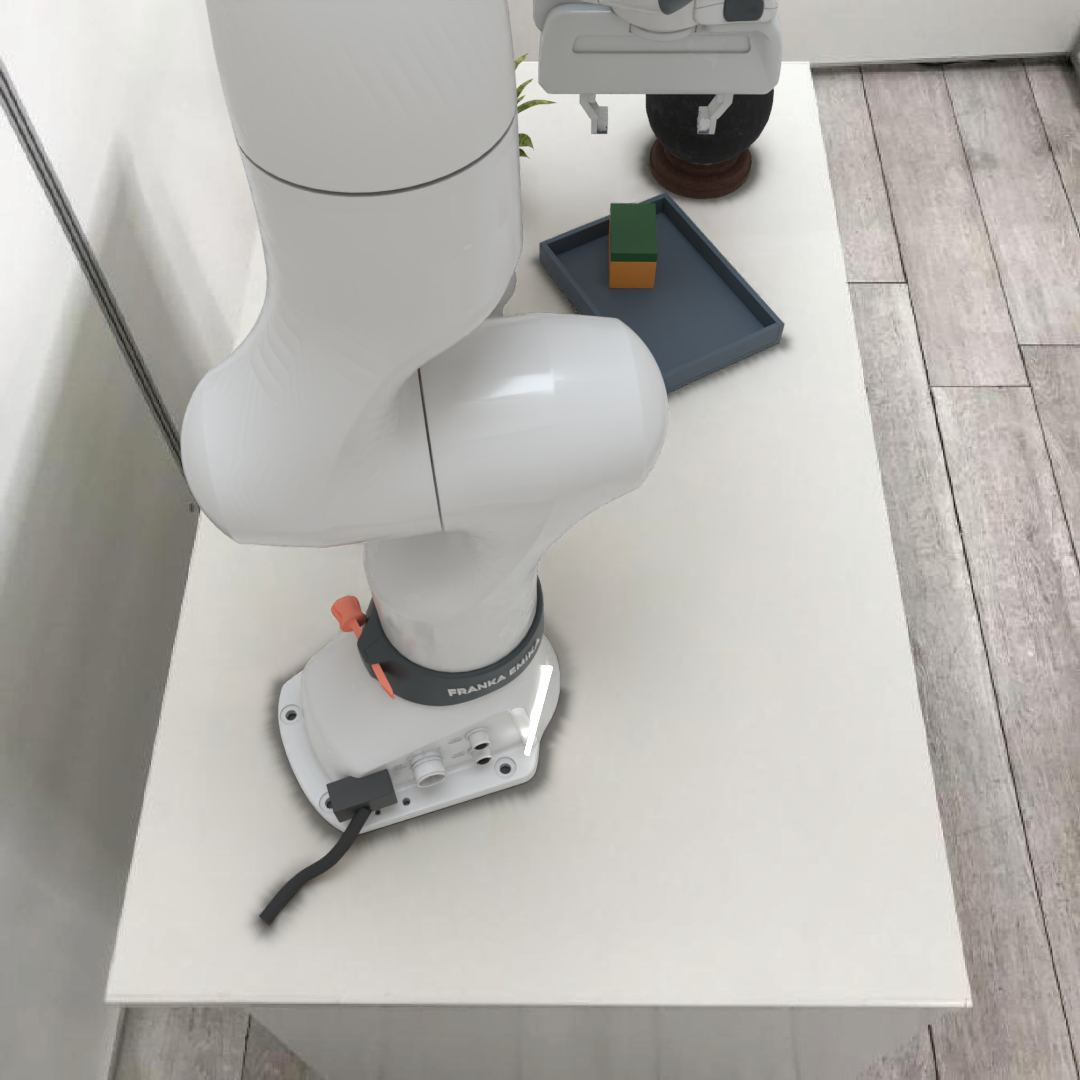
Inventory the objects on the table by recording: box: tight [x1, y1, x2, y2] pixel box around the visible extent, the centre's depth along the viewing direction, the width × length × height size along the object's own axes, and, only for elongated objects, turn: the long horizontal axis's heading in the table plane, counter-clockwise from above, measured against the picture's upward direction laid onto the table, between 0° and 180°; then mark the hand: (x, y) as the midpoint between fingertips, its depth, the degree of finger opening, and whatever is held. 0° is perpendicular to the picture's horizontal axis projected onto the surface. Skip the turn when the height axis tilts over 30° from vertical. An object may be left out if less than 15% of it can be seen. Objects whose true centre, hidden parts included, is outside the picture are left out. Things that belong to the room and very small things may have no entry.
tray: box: [538, 191, 785, 394], centre depth 106 cm, size 15×21×3 cm
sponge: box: [608, 202, 658, 288], centre depth 107 cm, size 7×4×5 cm, turn 179°
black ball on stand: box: [645, 87, 775, 200], centre depth 111 cm, size 13×13×15 cm
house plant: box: [514, 53, 557, 160], centre depth 107 cm, size 14×14×16 cm
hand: (652, 130), depth 95 cm, fingers open, 8 cm apart
